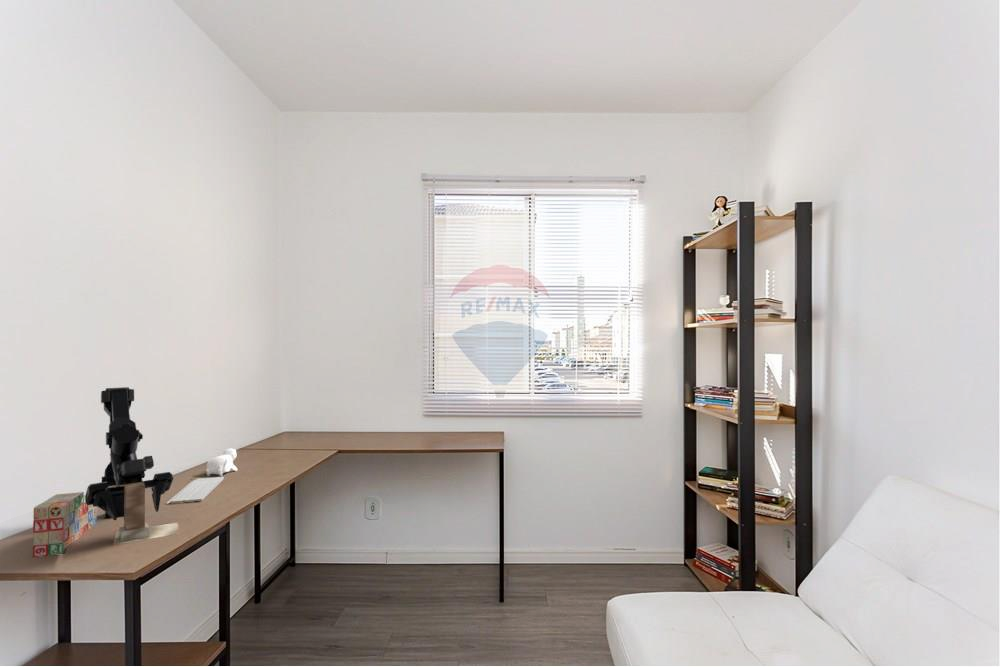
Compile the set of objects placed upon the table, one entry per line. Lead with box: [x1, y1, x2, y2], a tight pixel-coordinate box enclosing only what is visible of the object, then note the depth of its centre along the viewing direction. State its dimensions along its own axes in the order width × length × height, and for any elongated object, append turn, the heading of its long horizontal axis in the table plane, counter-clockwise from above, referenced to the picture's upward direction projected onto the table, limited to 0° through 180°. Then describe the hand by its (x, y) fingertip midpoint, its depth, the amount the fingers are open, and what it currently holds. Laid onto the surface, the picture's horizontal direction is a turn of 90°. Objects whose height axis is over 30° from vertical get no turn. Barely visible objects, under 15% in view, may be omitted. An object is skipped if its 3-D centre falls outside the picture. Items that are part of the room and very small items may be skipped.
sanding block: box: [118, 482, 151, 542], centre depth 140 cm, size 6×5×14 cm
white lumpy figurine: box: [205, 447, 238, 477], centre depth 217 cm, size 9×8×15 cm
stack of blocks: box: [32, 491, 98, 558], centre depth 141 cm, size 21×6×12 cm, turn 19°
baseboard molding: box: [165, 473, 225, 505], centre depth 189 cm, size 31×3×12 cm
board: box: [113, 521, 180, 546], centre depth 143 cm, size 14×11×1 cm
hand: (137, 514), depth 139 cm, fingers open, 9 cm apart
